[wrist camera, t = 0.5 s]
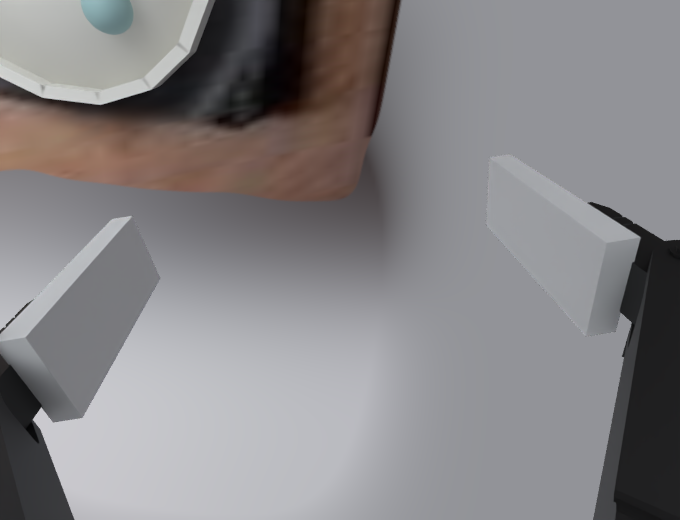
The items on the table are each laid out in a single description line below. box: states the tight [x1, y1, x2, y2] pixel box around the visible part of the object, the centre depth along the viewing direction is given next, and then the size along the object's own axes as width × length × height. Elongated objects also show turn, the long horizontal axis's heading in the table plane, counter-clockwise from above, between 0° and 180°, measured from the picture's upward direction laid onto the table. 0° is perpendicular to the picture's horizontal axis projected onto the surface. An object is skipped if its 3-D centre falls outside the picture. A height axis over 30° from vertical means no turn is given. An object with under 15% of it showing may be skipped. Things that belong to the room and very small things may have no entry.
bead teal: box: [81, 0, 133, 35], centre depth 31 cm, size 4×4×4 cm
